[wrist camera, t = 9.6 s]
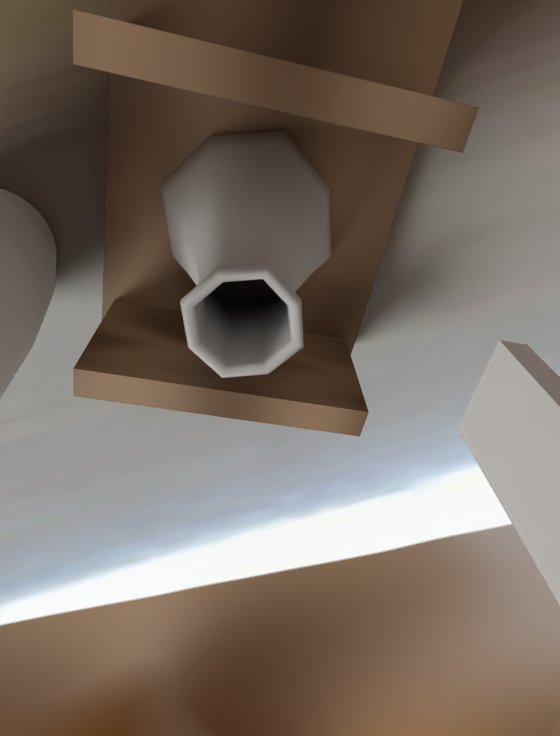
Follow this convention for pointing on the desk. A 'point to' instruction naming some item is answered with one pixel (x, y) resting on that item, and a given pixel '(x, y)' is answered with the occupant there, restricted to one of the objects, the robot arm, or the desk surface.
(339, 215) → the rack
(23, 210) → the cup
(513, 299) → the desk surface
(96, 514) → the desk surface
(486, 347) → the desk surface
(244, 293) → the flask
